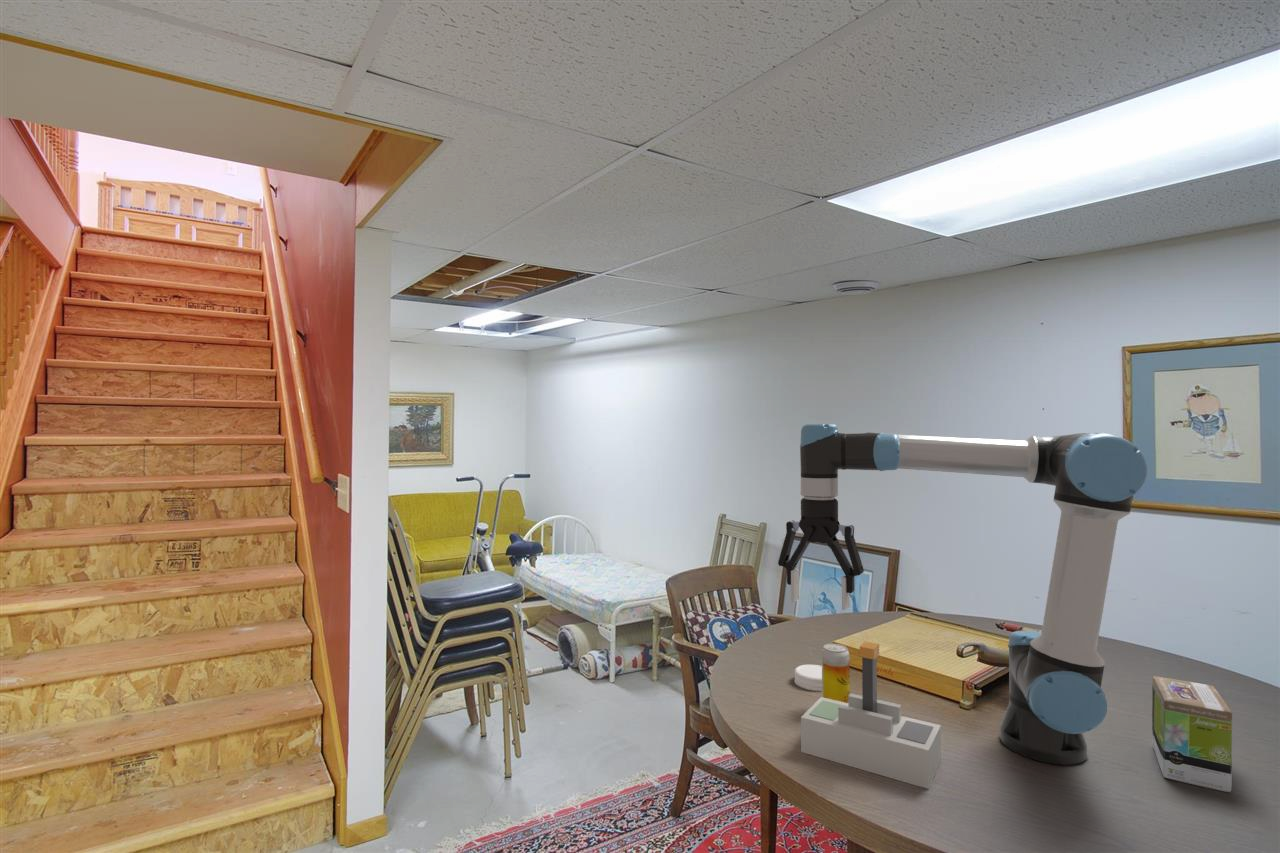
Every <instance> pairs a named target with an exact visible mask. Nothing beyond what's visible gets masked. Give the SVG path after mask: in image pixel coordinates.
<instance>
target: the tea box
mask: <svg viewBox="0 0 1280 853" xmlns="http://www.w3.org/2000/svg"><path fill="white" fill-rule="evenodd" d="M1151 686H1152V689H1151V690H1152V705H1151V706H1152V708H1151V709H1152V711H1151V712H1152V714H1151V716H1152V717H1151V719H1152V720H1151V722H1152V723H1151V725H1152V726H1151V727H1152V728H1151V739H1152V740H1151V743H1152V744H1151V745H1152V747H1153V751H1154V753H1155V756H1156V760H1157V762H1158V766H1159V768H1160V771H1161V774H1162V777H1163V778H1165V779H1168V780H1172V781H1177V782H1180V783H1186V784H1189V785H1193V786H1197V787H1198V786H1199V787H1203V788H1206V789H1211V790H1216V791H1221V792H1225V793H1231V791H1232V789H1233V788H1232V784H1233V783H1232V781H1233V780H1232V778H1233V777H1232V775H1233V772H1232V766H1233V764H1232V763H1233V754H1232V753H1233V751H1232V750H1233V712H1232V710H1231V709H1230V707H1229V705H1228V704H1227V703H1226V701H1225V700H1224V699H1223V697H1222V696H1221V694H1220V693H1219V691H1218V689H1216V687H1215V686H1214V685H1210V684H1204V683H1199V682H1194V681H1186V680H1181V679H1175V678H1168V677H1162V676H1155V675H1154V676H1152V685H1151Z"/></svg>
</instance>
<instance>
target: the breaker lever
mask: <svg viewBox="0 0 1280 853" xmlns="http://www.w3.org/2000/svg"><path fill="white" fill-rule="evenodd" d="M879 655H880V643H876V642H869V641H864V642H863V643H862V644H861V645H860V646H859V657H860V658H862V659H861V662H862V663H861V665H862V666H861V669H862V670H861V671H862V674H861V675H862V676H861V677H862V678H861V679H862V680H861V681H862V687H861V688H862V692H861V693H862V695H861V696H863V710H866V711H870V712H874V713H877V700H878V673H877V671H878V664H877V663H878V662H877V661H878V659H877V658H878V656H879Z"/></svg>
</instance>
